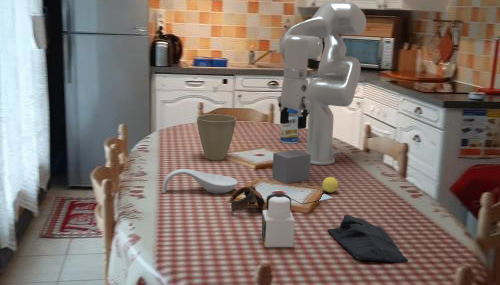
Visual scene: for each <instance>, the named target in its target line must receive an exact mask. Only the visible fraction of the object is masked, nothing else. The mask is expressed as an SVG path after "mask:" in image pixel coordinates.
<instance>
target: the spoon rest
mask: <svg viewBox="0 0 500 285" xmlns="http://www.w3.org/2000/svg"><path fill="white" fill-rule="evenodd" d="M178 175H186V176H189V177H191V178H192V179H193V180H195V181H196V182H197V183H198V184H199V185H200V186H201V187H202V188H203V189H204V190H206V191H207V192H208V193H211V194H217V195H219V194H225V193H229V192H231V191H232V190H233V189H235V188H236V186H237V185H238V183H239V182H238V180H237V179H236V178H233V177H231V176H227V175H221V174H215V173H209V172H203V171H199V170H196V169H190V168H177V169H174V170H173V171H171V172H169V173H168V174H167V175H166V176H165V178H164V179H163V182H162V189H161V190H162V194H165V193H167V188H168V185H169V182H170V180H172V178H174V177H177V176H178Z"/></svg>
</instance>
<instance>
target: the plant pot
mask: <svg viewBox="0 0 500 285" xmlns="http://www.w3.org/2000/svg"><path fill="white" fill-rule="evenodd" d="M196 120H197V122H196V123H197V128H198V135H199V138H200V139H199V140H200V143H201V146H202V147H201V148H202V150H203V153H204V157H205V159H207V160H209V161H215V160H216V161H223V159H224V160H225V159H226V157H227V155H228V153H229V152H228V151H229V149H230V146H231V143H232V140H233V136H234V132H235V128H236V121H237V118H236V117H234V116H231V115H228V114H227V115H226V114H214V113H213V114H202V115H198V116H197V117H196Z"/></svg>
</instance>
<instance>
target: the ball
mask: <svg viewBox="0 0 500 285" xmlns="http://www.w3.org/2000/svg"><path fill="white" fill-rule="evenodd" d="M338 188H339V181H338V180H337V179H336V178H335V177H333V176H328V177H325V178H324V179H323V181H322V189H323V190H324V192H326V193H328V194H329V193H335V192H336V191H337V190H338Z"/></svg>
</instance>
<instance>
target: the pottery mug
mask: <svg viewBox="0 0 500 285" xmlns="http://www.w3.org/2000/svg"><path fill="white" fill-rule="evenodd" d="M242 194H244V195H245V197H243V198H241V199H238V200H236V199H237V198H238V197H239V196H240V195H242ZM229 201H230V202H231V203H230V205H231V206H230V207H231V208H230V209H231V210H232V211H233V212H234V211H238V210H242V209H247V210H249V209H250V208H249V205H256V204H257V208H258V209H262V211H263V210H266V203H265V200H264V197H263V196H262V194H261V193H260V192H259V191H258V190H257V189H256V187H255V186H253V185H250V186H248V185H246V186H243V187H240V188H238V189H236V191H235V192H233V194H232V195H231V198H230V199H229Z"/></svg>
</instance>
